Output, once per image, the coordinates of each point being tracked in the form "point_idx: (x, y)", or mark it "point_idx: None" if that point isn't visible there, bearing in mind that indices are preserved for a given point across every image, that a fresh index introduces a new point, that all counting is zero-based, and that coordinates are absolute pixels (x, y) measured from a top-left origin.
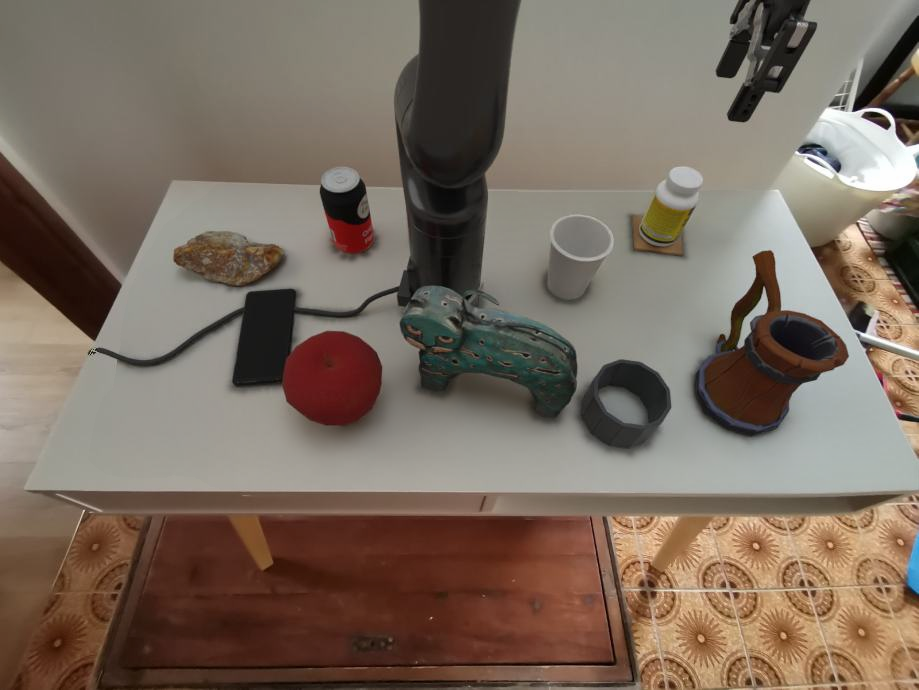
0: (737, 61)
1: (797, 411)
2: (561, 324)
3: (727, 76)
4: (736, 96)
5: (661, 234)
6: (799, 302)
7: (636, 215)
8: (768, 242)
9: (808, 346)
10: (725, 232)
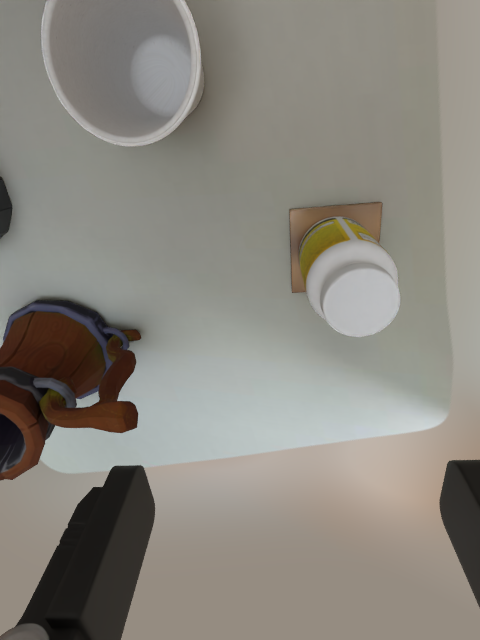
0: (474, 570)
1: (78, 400)
2: None
3: (443, 495)
4: (104, 542)
5: (300, 256)
6: (240, 425)
7: (381, 210)
8: (346, 407)
9: (17, 440)
10: (359, 356)
